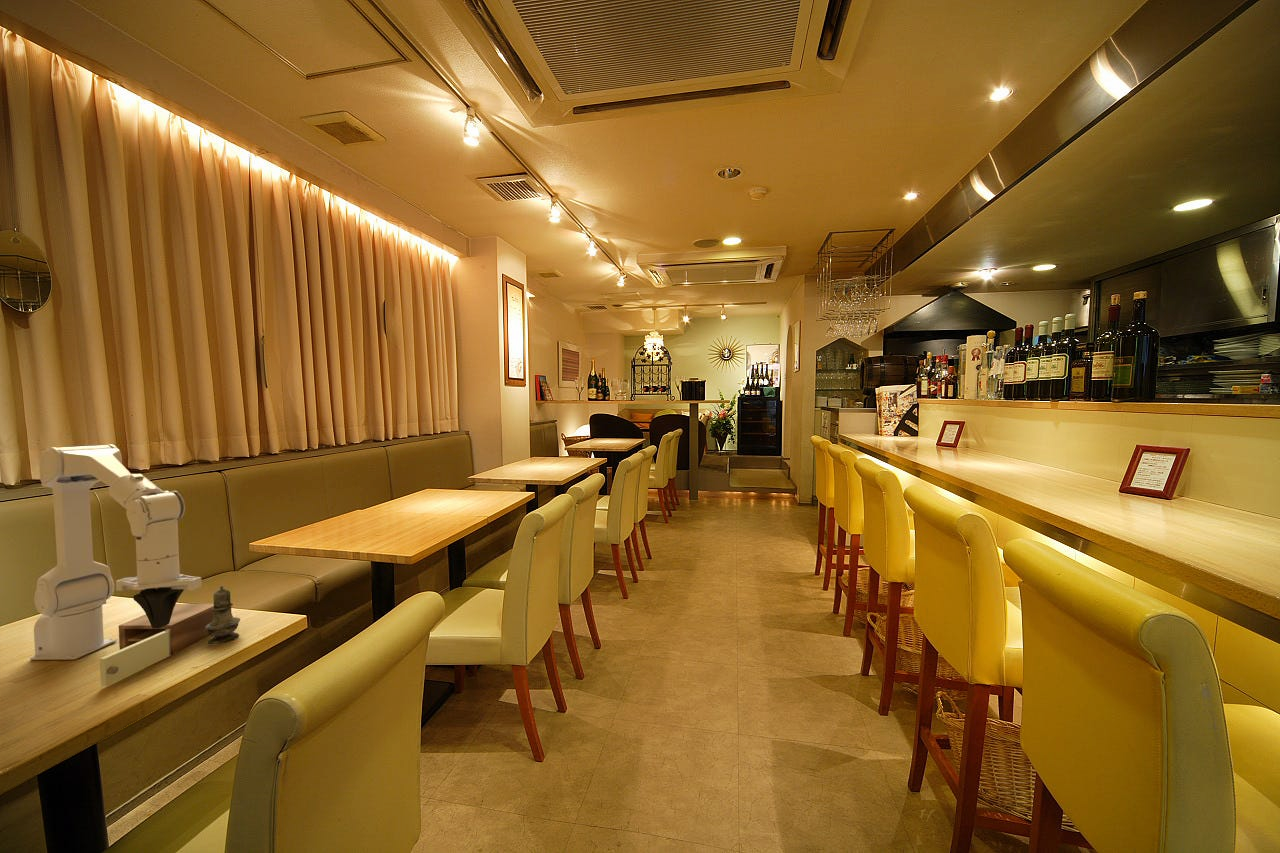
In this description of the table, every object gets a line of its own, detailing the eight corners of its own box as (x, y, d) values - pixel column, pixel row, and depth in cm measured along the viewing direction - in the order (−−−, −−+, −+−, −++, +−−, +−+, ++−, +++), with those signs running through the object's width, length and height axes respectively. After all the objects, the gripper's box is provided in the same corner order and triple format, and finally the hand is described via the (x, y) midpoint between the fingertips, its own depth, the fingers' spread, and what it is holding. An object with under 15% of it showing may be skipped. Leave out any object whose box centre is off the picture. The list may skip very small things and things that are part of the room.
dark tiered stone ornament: (220, 646, 102) (218, 591, 102) (198, 644, 103) (196, 589, 103) (247, 634, 108) (245, 582, 108) (226, 631, 109) (224, 580, 109)
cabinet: (119, 655, 99) (118, 625, 99) (172, 630, 110) (170, 603, 110) (172, 655, 99) (171, 625, 99) (219, 630, 110) (218, 603, 110)
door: (109, 688, 87) (108, 658, 87) (101, 687, 87) (99, 657, 87) (176, 656, 98) (175, 629, 98) (168, 655, 98) (167, 629, 98)
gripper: (96, 563, 87) (99, 636, 87) (175, 562, 87) (178, 635, 87) (137, 551, 94) (140, 619, 94) (210, 551, 94) (212, 618, 94)
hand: (160, 626), depth 91 cm, fingers closed
